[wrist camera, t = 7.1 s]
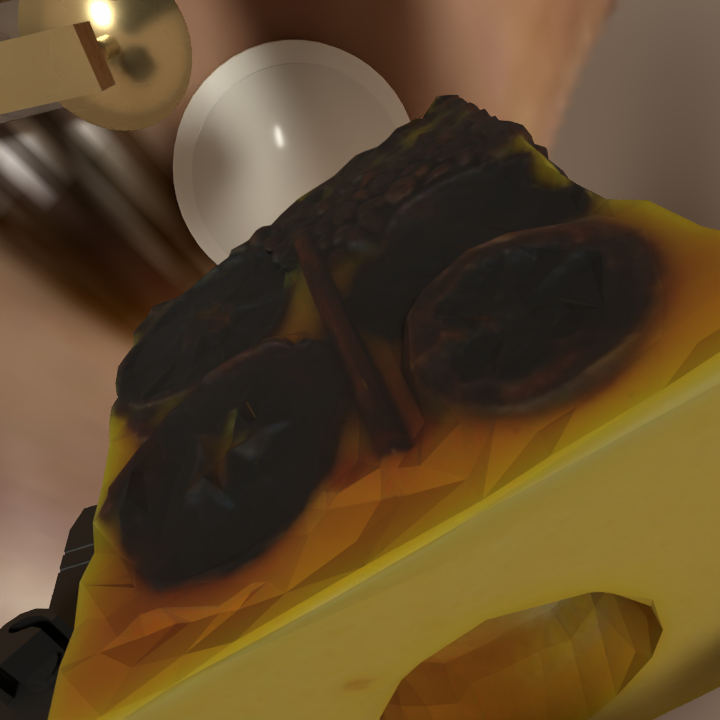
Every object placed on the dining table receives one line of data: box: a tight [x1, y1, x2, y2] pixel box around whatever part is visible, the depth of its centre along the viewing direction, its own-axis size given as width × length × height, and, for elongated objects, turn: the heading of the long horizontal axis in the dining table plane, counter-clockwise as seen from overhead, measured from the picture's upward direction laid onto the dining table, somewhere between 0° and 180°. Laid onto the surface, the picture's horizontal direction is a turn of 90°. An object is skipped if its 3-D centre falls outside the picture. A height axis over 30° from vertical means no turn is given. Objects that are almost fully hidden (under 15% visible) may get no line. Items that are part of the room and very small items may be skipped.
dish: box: [173, 39, 410, 265], centre depth 28 cm, size 13×13×1 cm
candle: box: [48, 95, 720, 720], centre depth 12 cm, size 10×10×10 cm
